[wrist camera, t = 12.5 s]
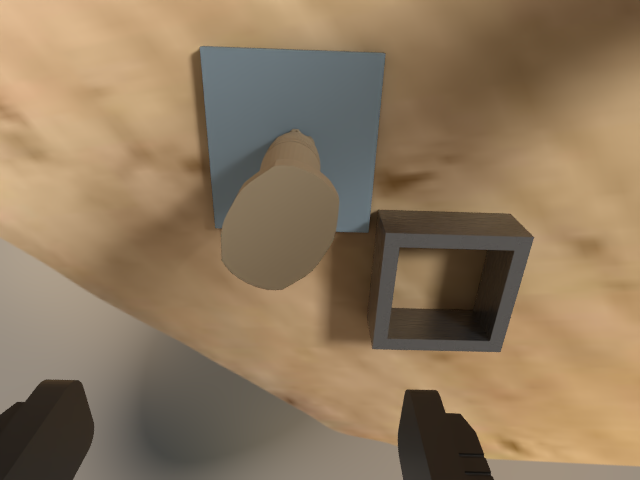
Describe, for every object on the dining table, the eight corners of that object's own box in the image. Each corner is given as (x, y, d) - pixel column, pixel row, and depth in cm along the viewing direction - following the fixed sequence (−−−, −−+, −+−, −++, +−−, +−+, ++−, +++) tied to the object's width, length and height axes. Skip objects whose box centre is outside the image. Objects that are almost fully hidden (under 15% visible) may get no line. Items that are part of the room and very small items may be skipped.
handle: (248, 168, 34) (201, 261, 20) (287, 95, 31) (263, 145, 18) (301, 197, 35) (290, 304, 21) (343, 128, 32) (360, 200, 19)
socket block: (378, 209, 36) (385, 232, 32) (510, 213, 37) (533, 237, 33) (367, 317, 42) (372, 349, 38) (482, 320, 42) (500, 352, 38)
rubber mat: (203, 46, 31) (199, 46, 30) (383, 52, 31) (385, 53, 30) (217, 223, 37) (215, 228, 36) (367, 227, 37) (368, 232, 36)
